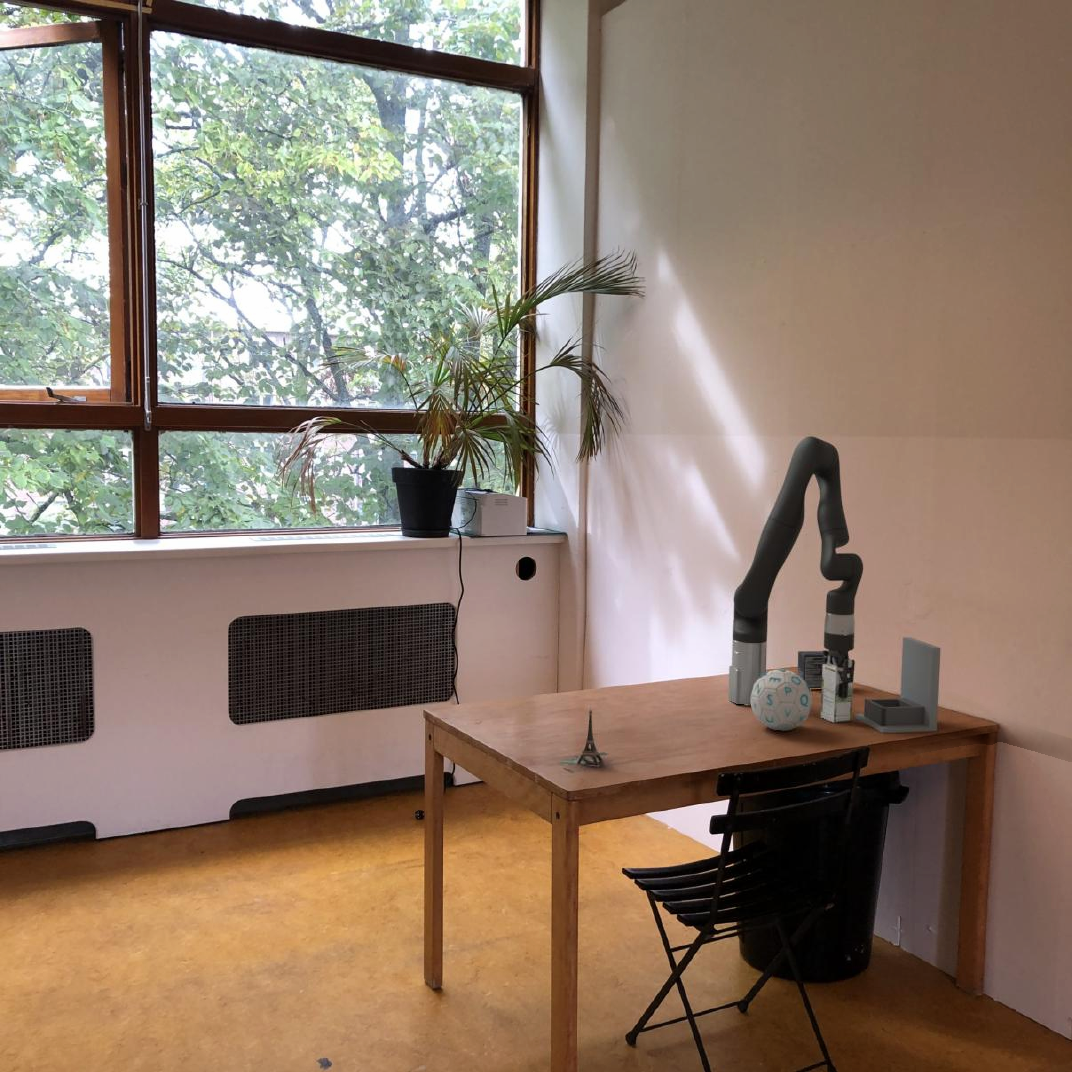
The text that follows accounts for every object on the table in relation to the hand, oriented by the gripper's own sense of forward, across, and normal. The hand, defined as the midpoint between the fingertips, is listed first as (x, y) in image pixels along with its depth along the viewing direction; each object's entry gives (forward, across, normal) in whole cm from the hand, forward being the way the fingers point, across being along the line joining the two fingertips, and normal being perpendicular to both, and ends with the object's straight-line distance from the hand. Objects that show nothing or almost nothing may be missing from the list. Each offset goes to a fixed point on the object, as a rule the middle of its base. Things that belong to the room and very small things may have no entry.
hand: (837, 694), depth 282 cm
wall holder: (+7, +6, +13) cm, 16 cm away
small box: (+7, -36, +11) cm, 38 cm away
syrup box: (+7, 0, 0) cm, 7 cm away
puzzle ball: (+7, +7, -18) cm, 20 cm away
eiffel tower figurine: (+7, +28, -72) cm, 77 cm away
